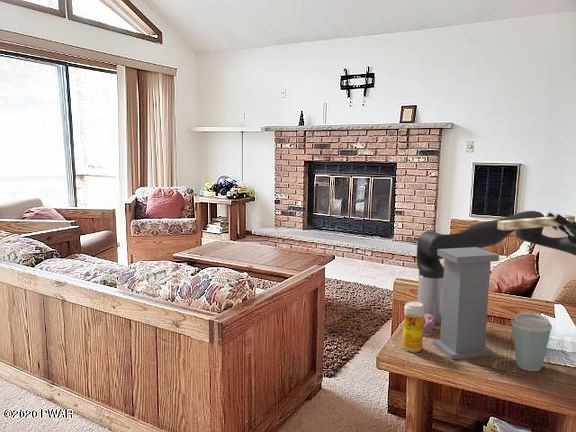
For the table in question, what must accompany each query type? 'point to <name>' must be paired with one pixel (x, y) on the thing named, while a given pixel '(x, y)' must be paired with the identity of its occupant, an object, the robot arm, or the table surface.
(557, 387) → the table surface
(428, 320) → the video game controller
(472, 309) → the gray pedestal
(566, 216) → the beech bar
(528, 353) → the disposable coffee cup
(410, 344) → the yellow bottle
